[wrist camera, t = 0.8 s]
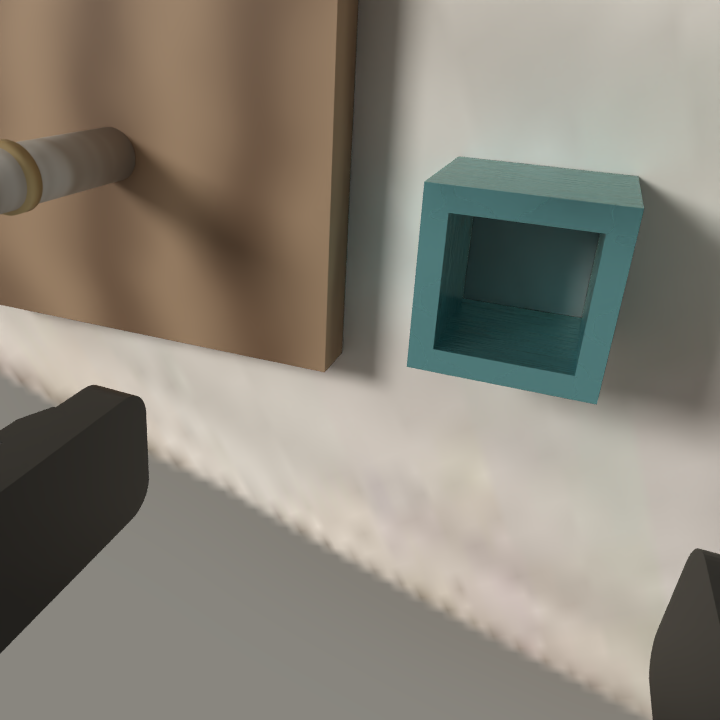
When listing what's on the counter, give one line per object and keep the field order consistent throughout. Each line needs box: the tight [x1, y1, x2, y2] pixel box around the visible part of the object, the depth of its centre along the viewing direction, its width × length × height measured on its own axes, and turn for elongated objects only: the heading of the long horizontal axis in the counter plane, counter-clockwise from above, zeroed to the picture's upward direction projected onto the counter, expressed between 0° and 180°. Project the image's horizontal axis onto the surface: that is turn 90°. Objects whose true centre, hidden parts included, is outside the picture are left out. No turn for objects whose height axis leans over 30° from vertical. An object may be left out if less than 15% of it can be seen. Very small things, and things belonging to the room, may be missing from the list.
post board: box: [0, 0, 359, 372], centre depth 24 cm, size 18×15×9 cm
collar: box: [407, 157, 644, 404], centre depth 22 cm, size 6×6×5 cm
